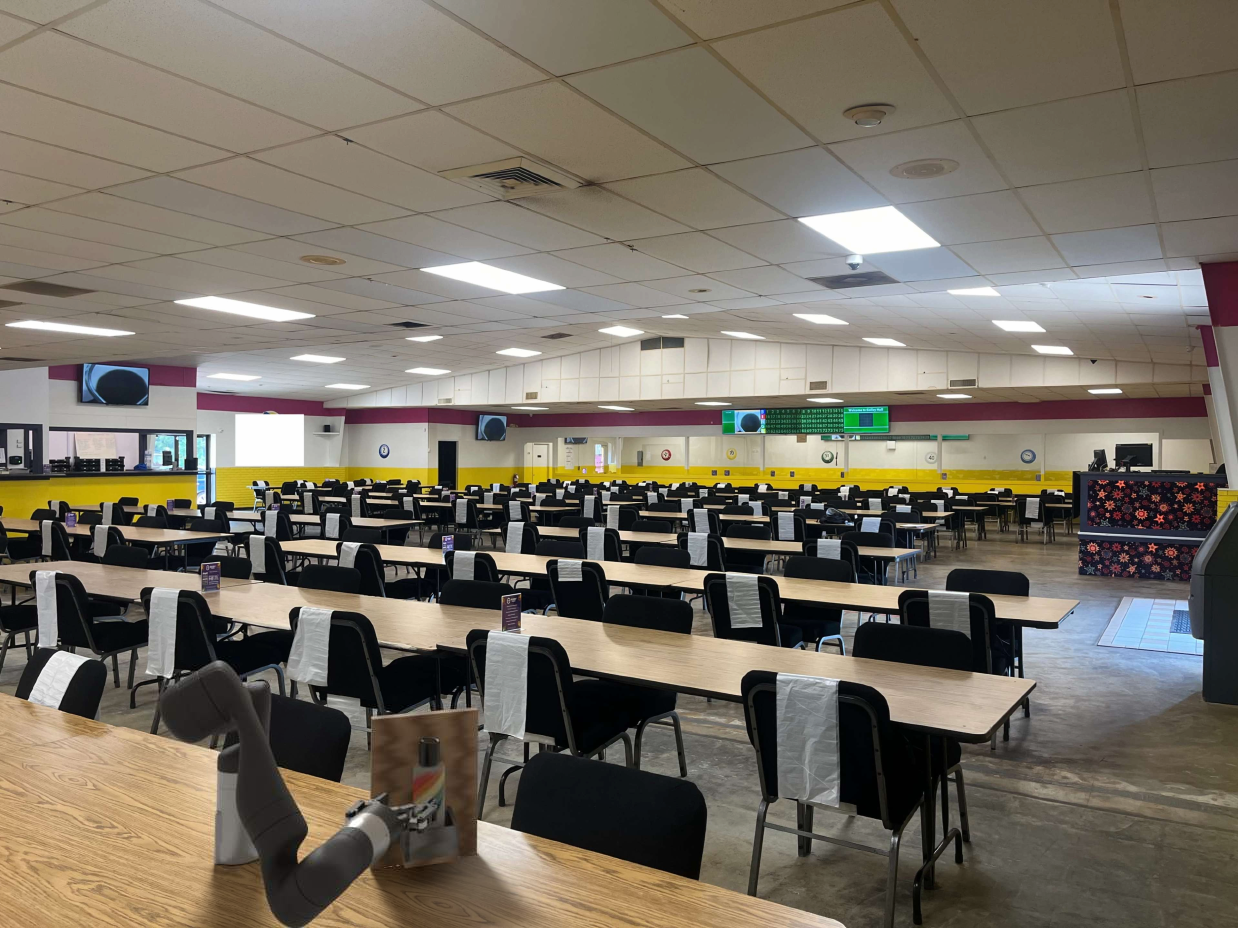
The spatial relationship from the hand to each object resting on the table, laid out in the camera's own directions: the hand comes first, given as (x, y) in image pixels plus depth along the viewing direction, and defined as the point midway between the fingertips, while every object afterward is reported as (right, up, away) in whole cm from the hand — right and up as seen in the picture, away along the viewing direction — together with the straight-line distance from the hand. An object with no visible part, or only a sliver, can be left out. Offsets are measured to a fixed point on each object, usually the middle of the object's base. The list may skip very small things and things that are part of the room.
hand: (409, 799), depth 147 cm
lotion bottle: (+1, -12, +8) cm, 15 cm away
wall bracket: (+1, -17, +10) cm, 20 cm away
